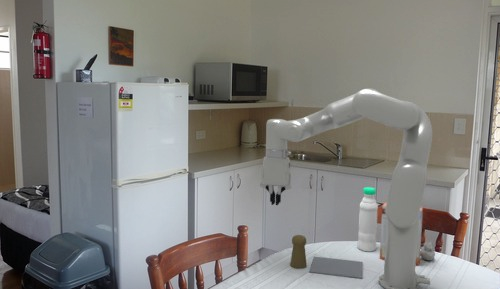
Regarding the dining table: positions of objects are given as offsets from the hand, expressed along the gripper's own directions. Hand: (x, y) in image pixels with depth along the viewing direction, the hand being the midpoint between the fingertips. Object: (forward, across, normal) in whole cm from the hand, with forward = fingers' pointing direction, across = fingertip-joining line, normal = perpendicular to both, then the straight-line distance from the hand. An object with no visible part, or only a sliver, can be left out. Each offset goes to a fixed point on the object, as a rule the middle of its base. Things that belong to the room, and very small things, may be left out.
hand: (275, 203), depth 154 cm
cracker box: (+22, -45, -16) cm, 53 cm away
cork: (+22, -9, 0) cm, 24 cm away
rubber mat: (+22, -22, -2) cm, 32 cm away
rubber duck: (+22, -55, -20) cm, 63 cm away
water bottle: (+22, -33, -24) cm, 47 cm away
